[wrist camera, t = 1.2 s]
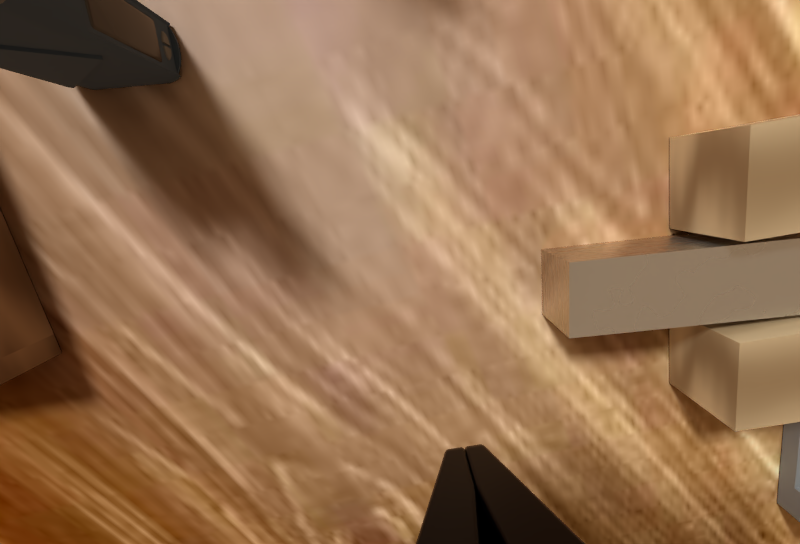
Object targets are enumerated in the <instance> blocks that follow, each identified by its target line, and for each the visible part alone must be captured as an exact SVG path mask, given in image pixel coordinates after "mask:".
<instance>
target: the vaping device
mask: <svg viewBox="0 0 800 544" xmlns="http://www.w3.org/2000/svg"><path fill="white" fill-rule="evenodd" d="M169 25H170V23H168V22H167V21H166V20H164V19H163V18H161V17H160V16H158V15H157V14H155V13H154V12H153V11H151V10H150V9H148V8H147V7H145V6H144V5H142V4H141V3H140V2H138V1H137V0H0V68H2V69H6V70H9V71H13V72H16V73H20V74H23V75H27V76H31V77H34V78H38V79H41V80H45V81H48V82H52V83H55V84H59V85H62V86H66V87H71V88H74V87H76V86H77V85H78V86H82V87H85V88H89V89H96V90H97V89H108V88H119V87H130V86H141V85H152V84H163V83H171V82H174V81H176V80H177V79H179V78H180V77H181V76H180V75H179V71H180V67H181V54H180V48H179V44H178V42H177V39H176V37H175V35H174V33H173V31H172V30H171V28H170V27H169Z"/></svg>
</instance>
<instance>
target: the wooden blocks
mask: <svg viewBox="0 0 800 544" xmlns="http://www.w3.org/2000/svg"><path fill="white" fill-rule="evenodd" d="M670 229H675V230H681V231H686V232H692V233H698V234H703V235H709V236H714V237H720V238H726V239H731V240H737V241H742V242H747V241H753V240H759V239H765V238H771V237H777V236H783V235H789V234H794V233H800V114H799V115H793V116H787V117H782V118H776V119H771V120H765V121H759V122H754V123H748V124H743V125H737V126H732V127H726V128H720V129H715V130H709V131H704V132H698V133H692V134H687V135H681V136H676V137H670ZM669 383H670V384H672V385H673V386H674V387H676V388H677V389H678V390H680V391H681V392H682V393H684V394H685V395H686V396H688V397H689V398H690V399H692V400H693V401H694V402H696V403H697V404H699V405H700V406H701V407H703V408H704V409H705V410H707V411H708V412H709V413H711V414H712V415H713V416H715V417H716V418H717V419H719V420H720V421H721V422H723V423H724V424H725V425H727V426H728V427H730V428H731V429H732V430H734V431H735V432H737V431H744V430H750V429H757V428H763V427H770V426H776V425H782V424H789V423H795V422H800V315H795V316H785V317H775V318H766V319H756V320H746V321H736V322H726V323H716V324H707V325H697V326H687V327H677V328H669Z"/></svg>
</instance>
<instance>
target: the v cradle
mask: <svg viewBox="0 0 800 544" xmlns="http://www.w3.org/2000/svg"><path fill="white" fill-rule="evenodd" d="M777 503H778V504H779V505H780V506H781V507H782V508H784V509H785V510H786V511H787V512H788V513H789V514H791V515H792V516H793V517H794V518H795V519H797V520H798V521H799V522H800V422H795V423H789V424H784V429H783V440H782V452H781V464H780V475H779V487H778V498H777Z"/></svg>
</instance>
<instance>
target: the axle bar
mask: <svg viewBox="0 0 800 544" xmlns="http://www.w3.org/2000/svg"><path fill="white" fill-rule="evenodd" d="M541 267H542V314H543V315H544V316H545V317H546V318H547V319H548V320H549V321H551V322H552V323H553V324H554V325H555V326H556V327H557V328H558V329H559V330H560V331H562V332H563V333H564V334H565V335H566V336H567V337H568V338H579V337H589V336H599V335H609V334H618V333H628V332H638V331H648V330H658V329H667V328H677V327H687V326H697V325H707V324H716V323H726V322H736V321H746V320H756V319H766V318H775V317H785V316H795V315H800V233H794V234H789V235H783V236H777V237H771V238H765V239H759V240H753V241H747V242H742V241H737V240H731V239H726V238H720V237H714V236H709V235H703V234H698V233H690V234H681V235H671V236H662V237H652V238H643V239H633V240H624V241H615V242H605V243H596V244H586V245H577V246H567V247H558V248H549V249H541Z"/></svg>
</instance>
